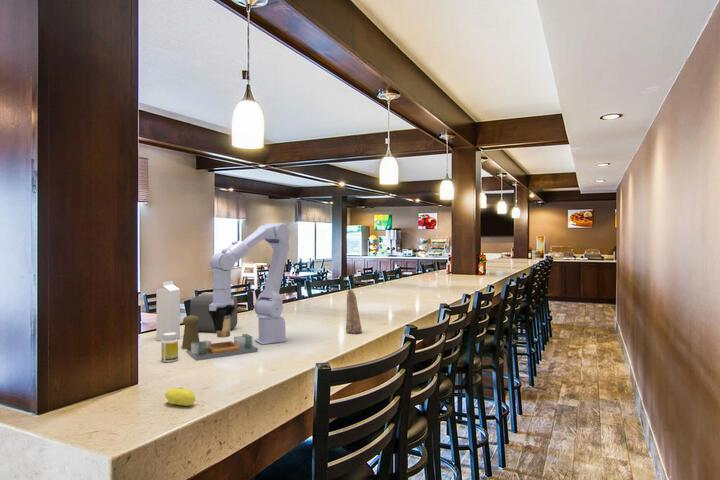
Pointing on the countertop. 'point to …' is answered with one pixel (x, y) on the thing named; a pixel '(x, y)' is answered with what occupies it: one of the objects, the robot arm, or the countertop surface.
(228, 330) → the tan and grey cylinder
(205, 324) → the dark grey rounded block
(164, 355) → the supplement bottle
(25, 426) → the countertop surface
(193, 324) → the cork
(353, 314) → the brown tapered stone
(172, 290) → the milk
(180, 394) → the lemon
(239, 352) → the bench plate
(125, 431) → the countertop surface
